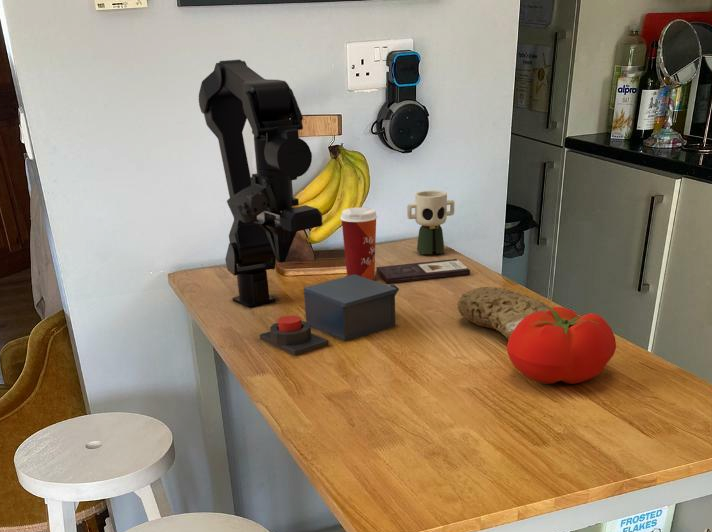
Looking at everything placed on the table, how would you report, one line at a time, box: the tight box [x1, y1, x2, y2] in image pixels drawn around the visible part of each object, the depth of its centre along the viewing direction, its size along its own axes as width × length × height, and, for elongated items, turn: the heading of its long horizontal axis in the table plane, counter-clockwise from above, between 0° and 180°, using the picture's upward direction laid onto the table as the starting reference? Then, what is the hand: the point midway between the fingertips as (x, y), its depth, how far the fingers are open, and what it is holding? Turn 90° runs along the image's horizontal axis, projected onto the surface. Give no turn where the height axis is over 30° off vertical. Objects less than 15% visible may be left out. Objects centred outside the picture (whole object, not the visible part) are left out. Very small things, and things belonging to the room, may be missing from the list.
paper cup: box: [339, 206, 379, 281], centre depth 172 cm, size 8×8×14 cm
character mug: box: [406, 190, 455, 255], centre depth 188 cm, size 11×7×13 cm, turn 101°
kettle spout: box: [389, 283, 400, 296], centre depth 152 cm, size 2×5×5 cm, turn 128°
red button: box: [277, 315, 302, 332], centre depth 144 cm, size 4×4×2 cm
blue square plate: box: [303, 274, 398, 307], centre depth 148 cm, size 12×12×1 cm
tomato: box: [506, 306, 617, 385], centre depth 126 cm, size 14×16×10 cm
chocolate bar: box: [375, 258, 471, 284], centre depth 177 cm, size 9×1×18 cm
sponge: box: [457, 286, 551, 341], centre depth 145 cm, size 13×8×20 cm
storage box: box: [303, 291, 396, 342], centre depth 150 cm, size 12×12×6 cm
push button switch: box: [259, 320, 329, 357], centre depth 145 cm, size 11×7×3 cm
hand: (281, 262), depth 146 cm, fingers closed
